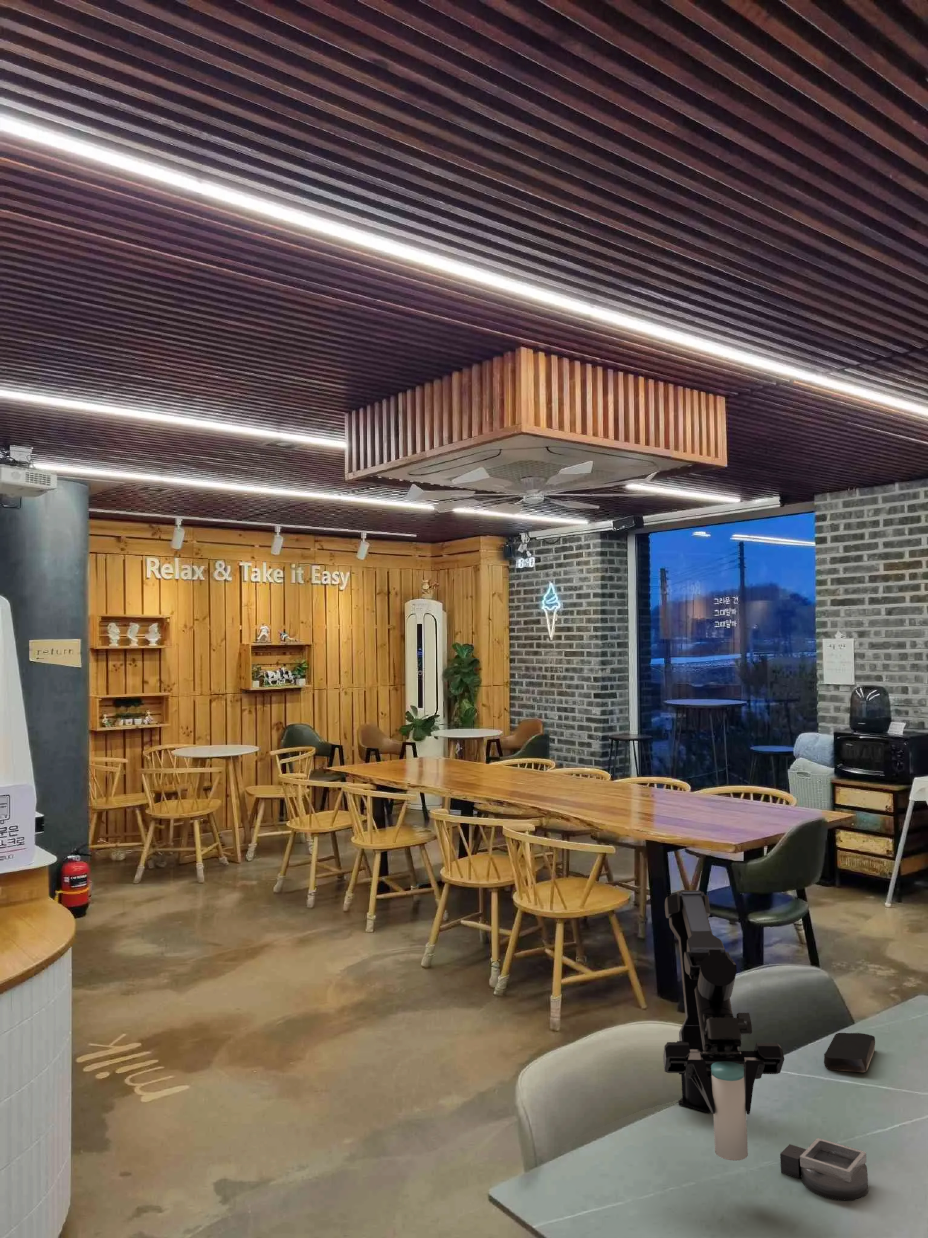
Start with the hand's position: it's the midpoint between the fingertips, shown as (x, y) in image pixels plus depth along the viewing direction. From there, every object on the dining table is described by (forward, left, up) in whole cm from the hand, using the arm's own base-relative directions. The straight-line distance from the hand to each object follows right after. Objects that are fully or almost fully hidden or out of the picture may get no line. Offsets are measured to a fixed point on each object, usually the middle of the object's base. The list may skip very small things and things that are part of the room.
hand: (731, 1113), depth 145 cm
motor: (+8, +15, -13) cm, 22 cm away
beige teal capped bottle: (-1, +1, -7) cm, 7 cm away
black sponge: (-5, +66, -14) cm, 67 cm away
